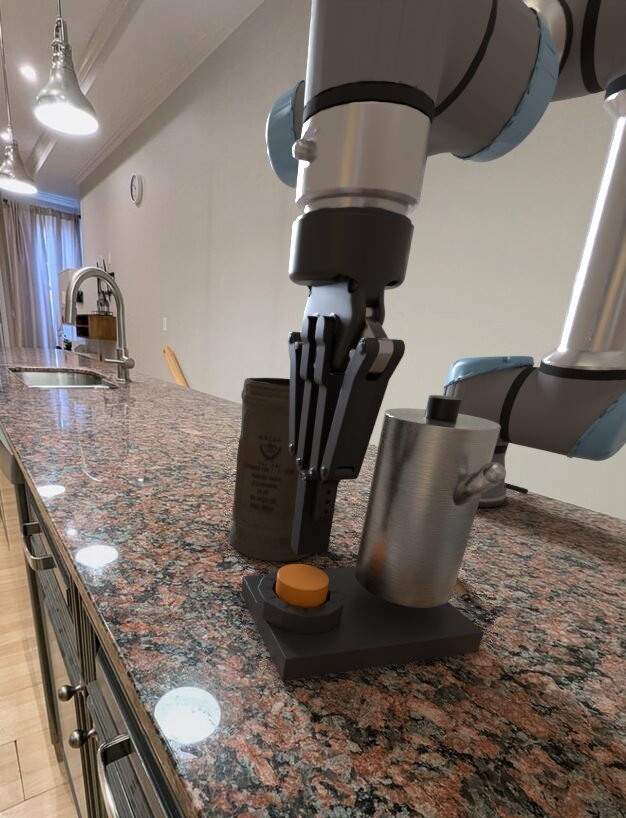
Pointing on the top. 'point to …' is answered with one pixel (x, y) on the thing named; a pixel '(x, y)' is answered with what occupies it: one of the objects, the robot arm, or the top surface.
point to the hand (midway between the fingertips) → (309, 549)
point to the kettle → (425, 501)
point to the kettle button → (302, 585)
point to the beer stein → (265, 474)
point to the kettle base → (352, 628)
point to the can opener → (467, 599)
